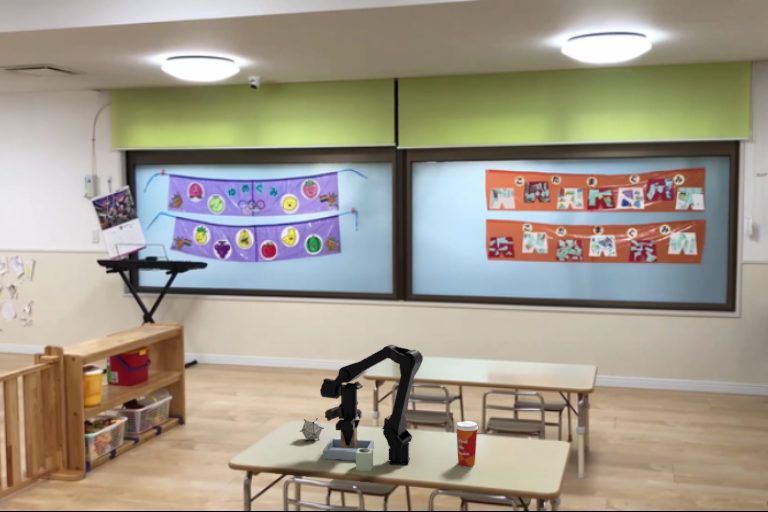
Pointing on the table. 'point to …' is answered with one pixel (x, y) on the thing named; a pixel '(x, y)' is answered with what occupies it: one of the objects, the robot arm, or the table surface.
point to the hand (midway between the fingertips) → (349, 443)
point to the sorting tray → (344, 449)
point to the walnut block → (353, 440)
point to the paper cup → (466, 443)
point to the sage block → (364, 459)
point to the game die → (311, 429)
